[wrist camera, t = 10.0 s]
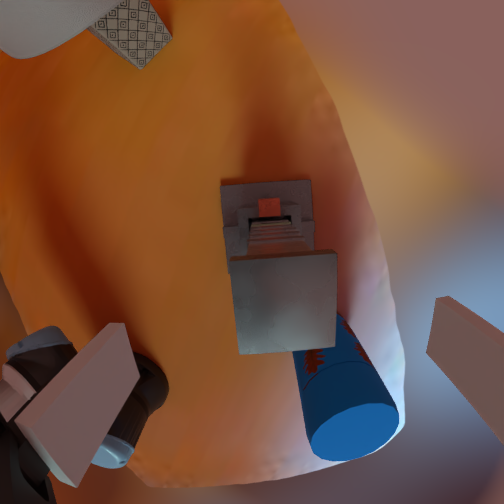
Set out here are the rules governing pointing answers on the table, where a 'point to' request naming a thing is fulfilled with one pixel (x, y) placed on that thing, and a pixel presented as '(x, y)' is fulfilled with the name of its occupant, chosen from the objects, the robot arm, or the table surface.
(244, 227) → the stand base
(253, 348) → the column
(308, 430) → the thermos
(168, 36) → the lamp
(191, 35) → the table surface
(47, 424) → the robot arm
